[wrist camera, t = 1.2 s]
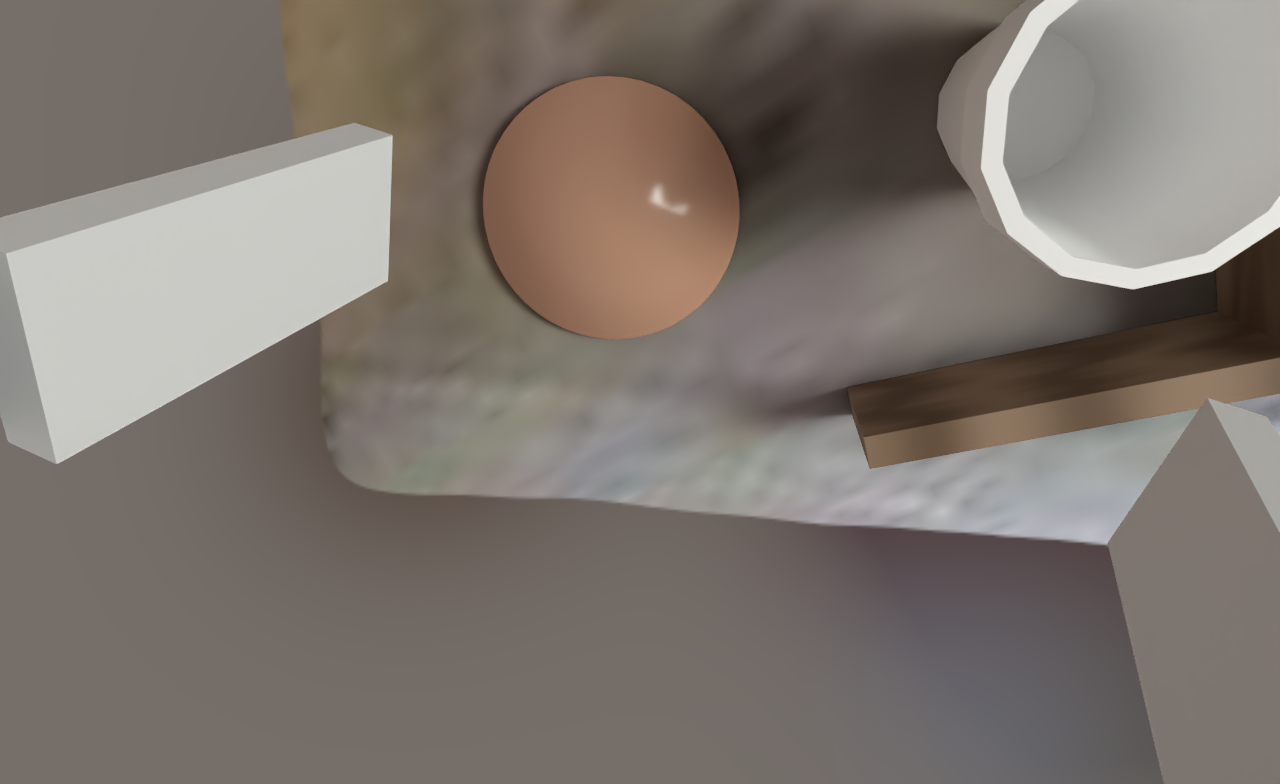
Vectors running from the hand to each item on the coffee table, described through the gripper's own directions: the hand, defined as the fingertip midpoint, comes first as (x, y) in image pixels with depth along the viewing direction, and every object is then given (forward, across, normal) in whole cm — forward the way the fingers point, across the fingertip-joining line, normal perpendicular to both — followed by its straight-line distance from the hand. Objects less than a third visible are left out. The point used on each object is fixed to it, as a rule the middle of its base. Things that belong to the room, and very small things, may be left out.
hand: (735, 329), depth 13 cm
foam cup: (+28, +5, +1) cm, 28 cm away
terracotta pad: (+23, -10, -8) cm, 26 cm away
